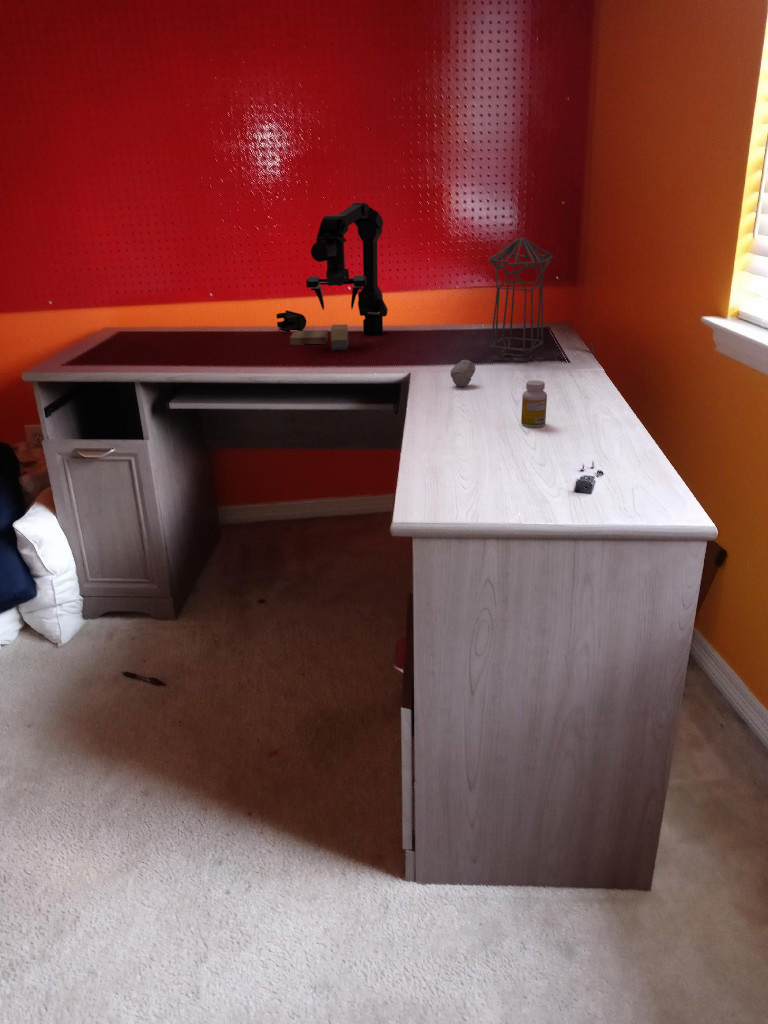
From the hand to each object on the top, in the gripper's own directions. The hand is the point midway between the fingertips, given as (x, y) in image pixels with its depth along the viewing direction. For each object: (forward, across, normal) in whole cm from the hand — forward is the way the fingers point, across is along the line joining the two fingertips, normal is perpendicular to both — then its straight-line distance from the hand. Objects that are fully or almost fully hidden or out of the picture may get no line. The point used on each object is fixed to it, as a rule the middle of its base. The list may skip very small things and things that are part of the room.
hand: (337, 309), depth 252 cm
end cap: (+13, -19, +32) cm, 39 cm away
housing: (+13, 0, 0) cm, 13 cm away
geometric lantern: (+13, +54, -21) cm, 60 cm away
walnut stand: (+12, -11, +12) cm, 20 cm away
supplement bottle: (+13, +49, -87) cm, 100 cm away
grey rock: (+13, +36, -52) cm, 64 cm away
